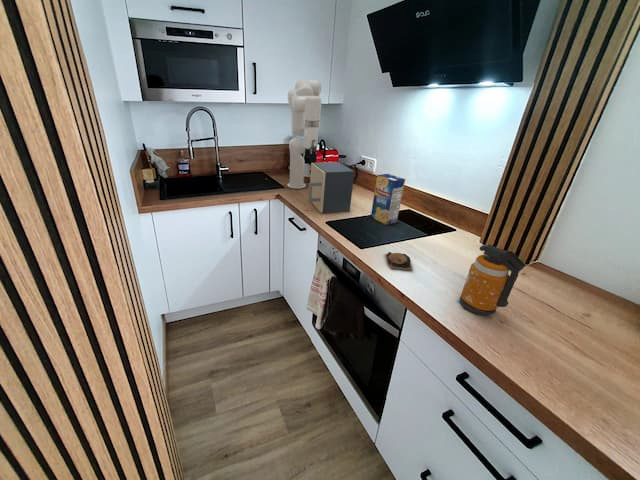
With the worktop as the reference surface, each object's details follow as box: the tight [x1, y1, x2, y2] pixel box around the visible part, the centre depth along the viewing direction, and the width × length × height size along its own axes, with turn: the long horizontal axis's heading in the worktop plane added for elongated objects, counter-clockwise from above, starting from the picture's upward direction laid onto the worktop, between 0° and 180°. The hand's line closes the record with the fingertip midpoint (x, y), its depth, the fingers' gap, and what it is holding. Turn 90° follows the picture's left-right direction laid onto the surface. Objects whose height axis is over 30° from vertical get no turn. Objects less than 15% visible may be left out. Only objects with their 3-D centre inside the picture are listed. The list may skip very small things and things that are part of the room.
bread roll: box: [385, 251, 413, 272], centre depth 106 cm, size 11×8×4 cm
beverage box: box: [370, 173, 406, 226], centre depth 138 cm, size 7×11×22 cm, turn 26°
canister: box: [459, 243, 527, 316], centre depth 80 cm, size 9×11×20 cm
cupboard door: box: [307, 162, 326, 214], centre depth 155 cm, size 7×22×22 cm, turn 11°
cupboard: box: [313, 161, 355, 214], centre depth 157 cm, size 15×22×22 cm
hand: (310, 159), depth 144 cm, fingers open, 9 cm apart
